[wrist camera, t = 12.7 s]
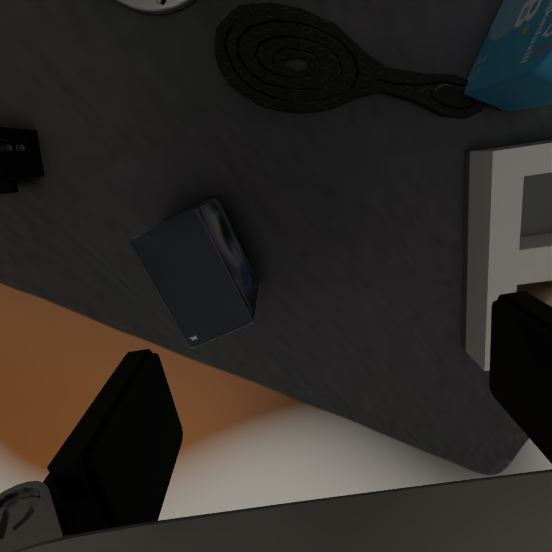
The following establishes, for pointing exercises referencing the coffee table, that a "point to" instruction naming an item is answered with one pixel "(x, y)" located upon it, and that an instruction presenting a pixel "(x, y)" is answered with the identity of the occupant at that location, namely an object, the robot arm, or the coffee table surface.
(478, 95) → the data package
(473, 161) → the socket block
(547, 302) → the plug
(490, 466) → the coffee table surface
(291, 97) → the hairbrush
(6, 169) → the digital camera
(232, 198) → the coffee table surface
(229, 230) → the small box
